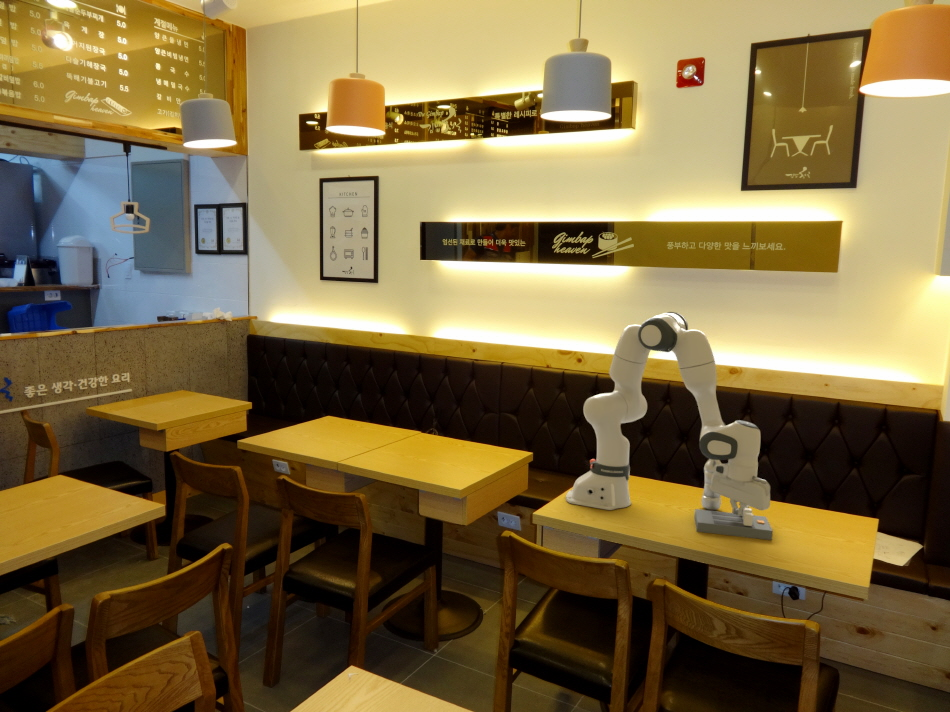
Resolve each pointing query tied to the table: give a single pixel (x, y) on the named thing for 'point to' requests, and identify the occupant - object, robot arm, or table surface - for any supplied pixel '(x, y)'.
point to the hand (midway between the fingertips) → (737, 514)
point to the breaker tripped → (747, 511)
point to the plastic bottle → (709, 497)
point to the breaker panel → (732, 524)
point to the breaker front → (748, 519)
